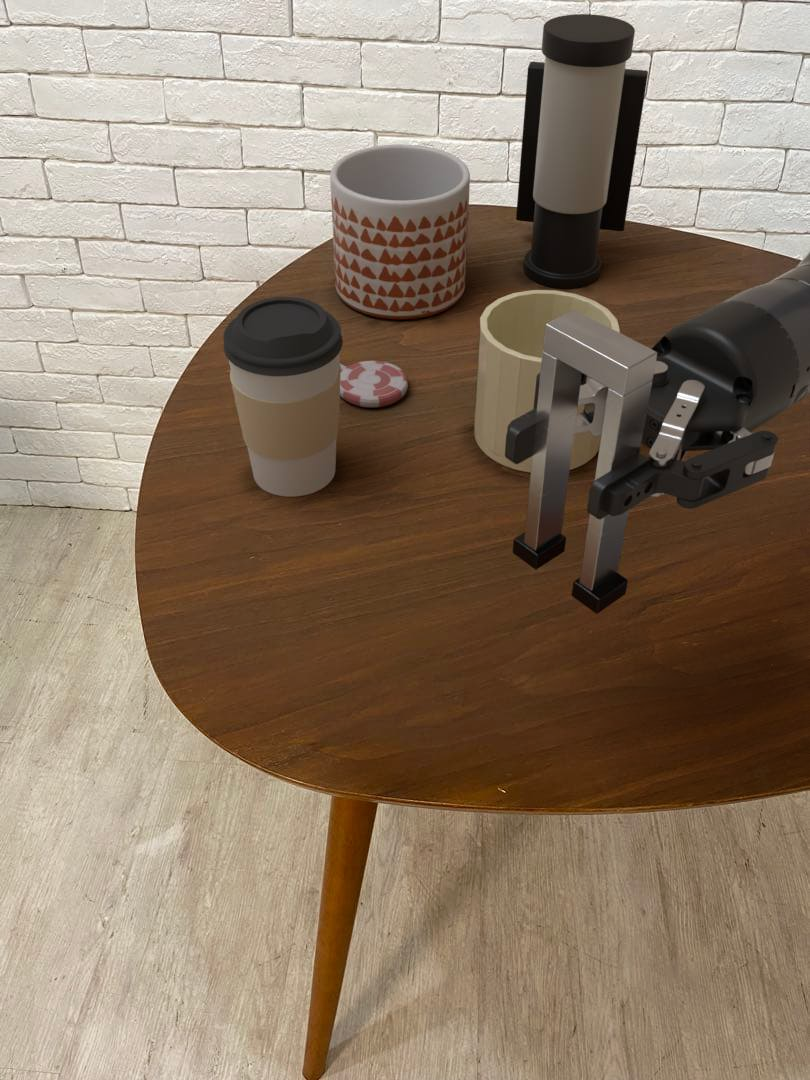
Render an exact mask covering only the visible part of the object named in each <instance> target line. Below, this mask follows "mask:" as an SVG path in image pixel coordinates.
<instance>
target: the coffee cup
mask: <svg viewBox="0 0 810 1080" xmlns="http://www.w3.org/2000/svg"><path fill="white" fill-rule="evenodd" d="M222 339H223V353H224V355H225V357H226V358H227V360H228V364H229V368H230V372H229V379H230V383H231V388H232V392H233V397H234V401H235V406H236V411H237V416H238V419H239V420H238V421H239V424H240V429H241V430H240V431H241V433H242V439H243V442H244V443H245V445H246V447H247V452H248V457H249V461H250V466H251V471H252V475H253V479H254V482H255V483H256V485H257V486H258V487H259V488H260V489H262V490H263V491H264V492H267V493H269V494H271V495H274V496H279V497H286V498H287V497H288V498H289V497H290V498H293V497H295V498H296V497H303V496H307V495H308V496H309V495H311V494H314V493H316V492H319V491H321V490H322V489H324V488H325V487H327V485H329V484H330V483H331V481H332V480H333V478H334V477H335V474H336V462H337V437H338V434H339V427H340V426H339V421H340V403H341V402H340V399H341V398H340V397H341V395H340V376H341V372H342V371H341V367H340V364H341V363H340V354H341V353H340V352H341V351H342V348H343V344H344V340H343V335H342V327H341V324H340V323H339V321H338V320H337V319H336V317H334V316H333V315H332V314H331V313H329V312H328V311H326V310H325V309H324V308H323V307H322V306H321V305H320V304H318V303H317V302H314V301H312V300H309V299H305V298H303V297H296V296H278V297H277V296H276V297H270V298H265V299H260V300H258V301H255V302H253V303H250V304H249V305H247V306H245V307H244V308H243V309H242V310H241V311H240V312H239V313H238V314H237V316H236V317H235V318H233V319H232V320H231V321H230V322H229V323H228V325H227V326H226V328H225V329H224V330H223V336H222ZM339 363H340V364H339Z"/></svg>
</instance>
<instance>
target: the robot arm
mask: <svg viewBox="0 0 810 1080" xmlns="http://www.w3.org/2000/svg"><path fill="white" fill-rule="evenodd" d="M651 349H652V350H654V351H655V352H657V358H656V364H655V369H654V375H653V379H652V387H651V392H650V398H649V403H648V409H647V414H646V420H645V425H644V431H643V436H642V442H641V444H642V445H643V446H644V447H646V448H648V449H649V451H648V456H645V455H643V454H641V453H639V454H638V455H637V456H635V457H633V458H632V459H630V460H628V461H627V462H625V463H624V464H622V465H620V466H619V467H617V468H615V469H614V470H611V471H609V472H608V473H606V474H605V475H603V476H601V477H600V478H598V479H597V480H595V479H594V480H595V481H593V483H592V484H591V486H590V489H589V492H588V499H587V507H586V511H587V513H588V514H589V513H590V514H591V515H593V516H594V517H596V518H597V519H602V518H604V517H605V516H607V515H611V516H616V515H621V514H623V513H624V512H626V511H628V510H629V511H630V509H632V508H634V507H635V506H638V505H639V504H640V503H642V502H643V501H645V500H646V499H648V498H649V497H653V498H658V497H662V496H664V495H665V494H666V495H670V496H673V497H676V503H677V505H679V506H680V507H682V508H684V509H689V510H690V509H691V510H692V509H696V508H698V507H701V506H703V505H706V504H708V503H710V502H711V503H712V502H713V501H715V500H717V499H721V498H722V497H725V496H727V495H730V494H733V493H735V492H737V491H739V490H742V489H745V488H747V487H749V486H752V485H754V484H756V483H758V482H761V481H763V480H766V479H767V478H768V476H769V472H770V469H771V466H772V463H773V460H774V458H775V457H774V456H775V453H776V448H777V445H778V441H779V437H778V436H777V435H776V434H775V433H774V432H772V431H769V430H759V431H756V432H754V433H753V431H755V430H756V429H758V428H760V427H761V426H762V425H764V424H765V423H767V422H769V421H770V420H772V419H773V418H774V417H776V416H778V415H779V414H781V413H782V412H784V411H785V410H787V409H789V408H790V407H792V406H793V405H795V404H797V403H798V402H801V400H802V399H805V398H806V397H807V396H808V395H809V394H810V251H808V253H807V254H806V255H805V256H804V258H802V260H801V261H800V262H799V263H798V264H797V266H796V267H794V268H792V269H790V270H788V271H786V272H784V273H782V274H781V275H779V276H777V277H775V278H773V279H772V280H770V281H768V282H766V283H763V284H760V285H756V286H753V287H750V288H748V289H745V290H743V291H740V292H739V293H737V294H735V295H733V296H731V297H729V298H727V299H725V300H724V301H722V302H719V303H718V304H716V305H714V306H712V307H710V308H708V309H706V310H705V311H703V312H701V313H699V314H696V315H695V316H693V317H691V318H690V319H688V320H686V321H684V322H682V323H680V324H678V325H676V326H674V327H673V328H671V329H669V330H668V331H667V332H665V334H664V335H663V336H662V337H661V338H660V339H659V340H658V341H657V342H656V343H655V344H654V346H653V347H651ZM539 382H540V373H539V374H538V375H537V377H536V388H535V398H534V408H533V410H531V411H529V412H527V413H526V414H525V415H522V416H520V417H518V418H516V419H514V420H512V421H511V422H510V424H509V425H508V429H507V434H506V445H505V457H506V458H507V459H509V460H510V461H512V462H513V463H515V464H519V463H521V462H523V461H525V460H526V459H528V458H530V457H532V455H533V445H534V435H535V424H536V413H537V402H538V392H539ZM608 389H609V388H608V387H606V386H604V385H603V384H601V383H599V382H597V381H596V380H594V379H592V378H590V377H588V376H587V375H585V374H583V373H582V377H581V384H580V392H579V400H578V406H580V405H585V406H584V410H583V411H582V412H581V413H579V414H577V416H576V423H575V431H574V434H579V433H584V432H590V434H591V435H592V436H594V437H598V436H601V433H602V426H603V420H604V413H605V406H606V400H607V393H608ZM694 451H695V452H698V451H704V452H702V453H700V454H697V455H695V456H692V457H689V458H688V459H686V460H685V458H686V456H687V455H688V454H689V452H694ZM684 460H685V461H684Z"/></svg>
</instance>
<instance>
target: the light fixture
mask: <svg viewBox="0 0 810 1080" xmlns="http://www.w3.org/2000/svg"><path fill="white" fill-rule="evenodd" d="M542 27H543V28H542V39H541V53H542V54H543V56H544V62H543V61H542V62H541V61H530V62H529V63H528V67H527V73H526V75H527V76H526V85H525V86H526V88H525V100H524V113H523V123H522V124H523V125H522V135H521V137H522V139H521V151H520V162H519V163H520V164H519V173H518V174H519V176H518V187H517V201H516V212H515V213H516V214H515V220H516V221H519V222H526V223H527V222H528V223H532V236H531V247H530V249H529V250H527V252H525V255H524V257H523V272H524V274H525V275H526V276H527V278H529V279H530V280H532V281H533V282H535V283H537V284H539V285H542V286H545V287H549V288H555V289H577V288H583V287H585V286H588V285H590V284H592V283H594V282H595V281H596V280H597V279H598V278H599V276H600V274H601V268H602V261H601V260H602V259H601V258H600V256H599V255H598V253H597V251H598V244H599V238H600V230H603V231H614V232H624V230H625V227H626V226H625V225H626V220H627V219H626V218H627V212H628V207H629V206H628V205H629V201H630V200H629V199H630V193H631V186H632V180H633V173H634V167H635V160H636V156H637V149H638V142H639V141H638V140H639V135H640V128H641V123H642V122H641V121H642V115H643V109H644V103H645V97H646V96H645V95H646V89H647V83H648V76H649V71H648V70H645V69H644V70H643V69H632V68H626V65H627V61H628V60H630V59H631V57H632V55H633V48H634V47H633V46H634V39H635V33H636V30H635V29H636V28H635V27H634V25H632V24H631V23H629V22H628V21H626V20H623V19H620V18H617V17H613V16H608V15H601V14H590V13H589V14H588V13H579V14H577V13H576V14H575V13H574V14H566V15H565V14H564V15H560V16H556V17H553V18H550V19H548V20H547V21H546V22H544V24H543V26H542Z"/></svg>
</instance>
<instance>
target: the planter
mask: <svg viewBox="0 0 810 1080" xmlns="http://www.w3.org/2000/svg"><path fill="white" fill-rule="evenodd" d="M329 174H330V175H329V177H330V178H329V179H330V180H329V182H330V199H331V200H330V201H331V220H332V222H331V223H332V242H333V261H334V262H333V263H334V265H333V266H334V283H335V290H336V293H337V295H338V297H339V298H340V300H341V301H342V302H343V303H344V304H345V305H347V306H348V307H350V308H351V309H352V310H355V311H357V312H358V313H361V314H364V315H367V316H371V317H374V318H379V319H385V320H397V321H398V320H399V321H400V320H415V319H422V318H427V317H431V316H434V315H437V314H440V313H442V312H444V311H446V310H448V309H450V308H452V306H454V305H455V304H456V303H458V302H459V300H460V299H461V298H462V296H463V294H464V292H465V288H466V274H467V255H468V254H467V252H468V233H469V229H468V228H469V208H470V207H469V206H470V189H471V188H470V187H471V186H470V185H471V173H470V170H469V167H468V166H467V165H466V163H464V162H463V160H462V159H460V158H459V157H457V156H455V155H454V154H452V153H450V152H448V151H445V150H441V149H439V148H436V147H431V146H426V145H416V144H401V143H400V144H398V143H397V144H383V145H376V146H375V145H374V146H370V147H365V148H362V149H359V150H355V151H353V152H351V153H348V154H346V155H344V156H343V157H341V158H340V159H339V160H337V161H336V162H335V164H333V166H332V167H331V170H330V173H329Z"/></svg>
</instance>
